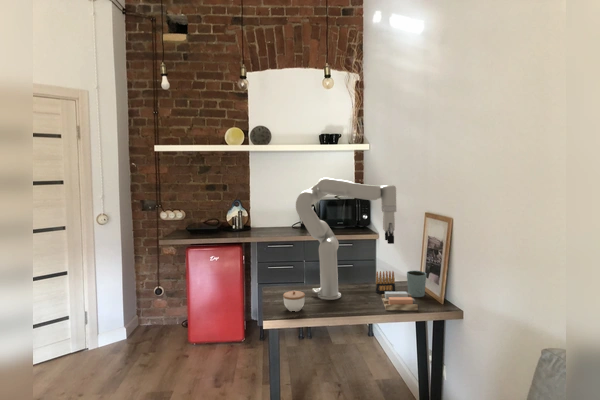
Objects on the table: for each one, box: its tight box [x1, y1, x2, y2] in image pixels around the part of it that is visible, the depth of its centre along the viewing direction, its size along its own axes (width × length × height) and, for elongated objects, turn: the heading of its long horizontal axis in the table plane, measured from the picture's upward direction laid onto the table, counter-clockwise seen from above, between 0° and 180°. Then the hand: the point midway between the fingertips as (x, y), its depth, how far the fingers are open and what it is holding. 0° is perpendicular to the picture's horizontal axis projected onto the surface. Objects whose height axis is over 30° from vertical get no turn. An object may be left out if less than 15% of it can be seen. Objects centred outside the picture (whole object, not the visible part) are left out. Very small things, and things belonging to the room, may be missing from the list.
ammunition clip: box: [375, 270, 396, 294], centre depth 209 cm, size 11×2×12 cm, turn 90°
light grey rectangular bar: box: [384, 291, 410, 298], centre depth 193 cm, size 12×4×4 cm, turn 85°
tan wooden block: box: [389, 296, 416, 304], centre depth 184 cm, size 12×4×4 cm, turn 85°
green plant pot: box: [406, 270, 427, 298], centre depth 203 cm, size 10×10×12 cm
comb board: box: [381, 293, 419, 311], centre depth 189 cm, size 15×16×2 cm
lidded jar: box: [282, 290, 306, 312], centre depth 186 cm, size 11×11×9 cm
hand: (389, 241), depth 196 cm, fingers open, 9 cm apart
